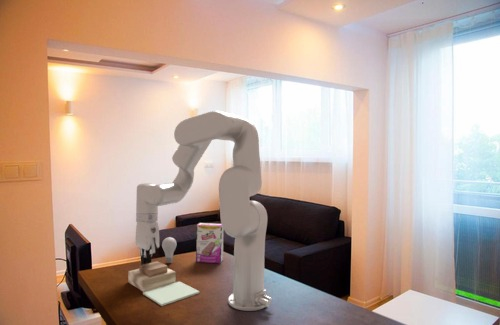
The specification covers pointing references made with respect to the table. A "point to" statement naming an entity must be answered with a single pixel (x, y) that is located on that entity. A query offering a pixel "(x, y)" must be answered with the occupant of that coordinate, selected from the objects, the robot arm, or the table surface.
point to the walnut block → (153, 269)
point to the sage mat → (170, 293)
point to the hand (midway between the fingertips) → (146, 266)
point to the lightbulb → (169, 248)
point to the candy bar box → (209, 243)
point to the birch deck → (151, 279)
